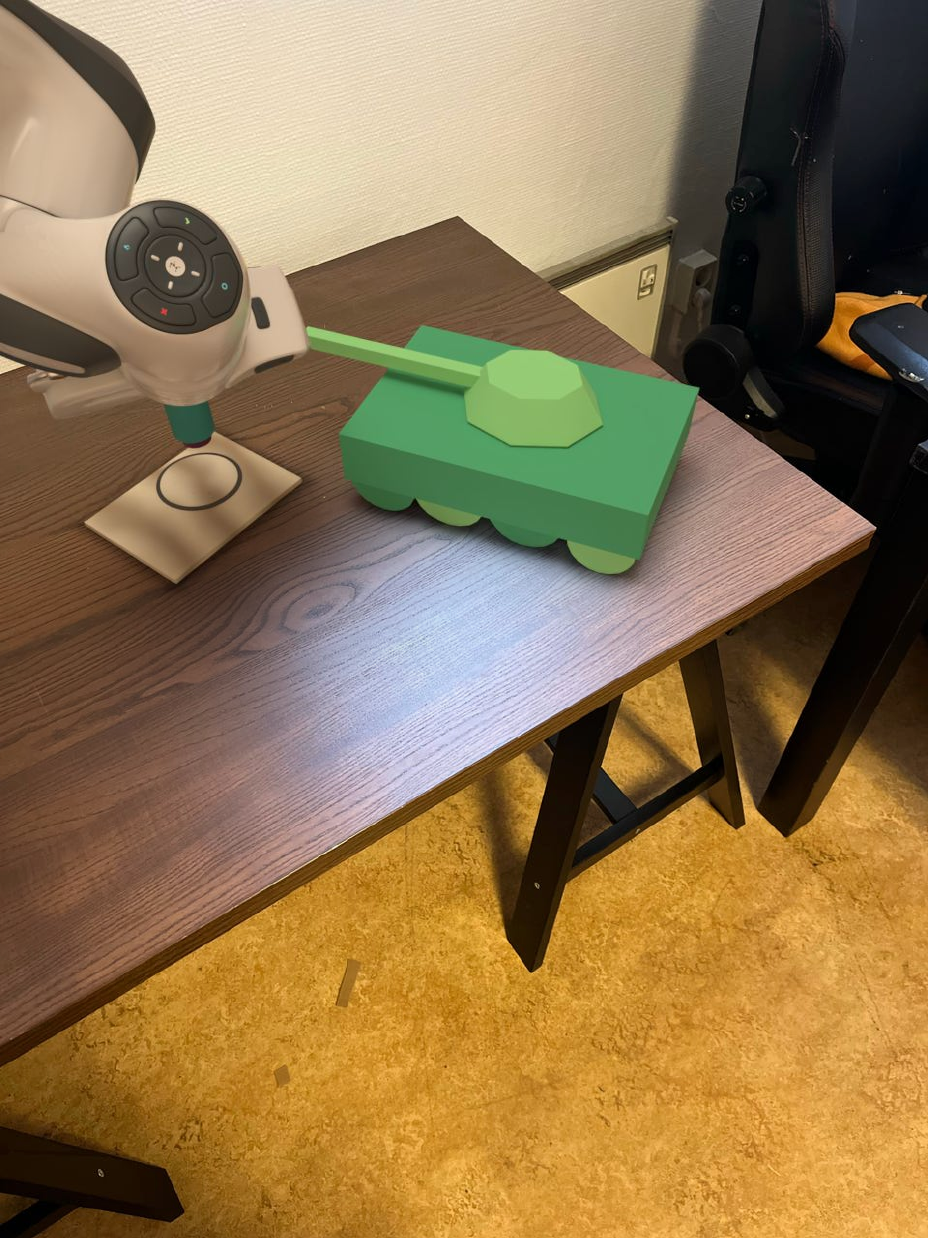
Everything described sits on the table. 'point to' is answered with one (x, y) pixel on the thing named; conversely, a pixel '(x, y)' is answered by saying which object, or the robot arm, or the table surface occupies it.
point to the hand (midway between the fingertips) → (178, 378)
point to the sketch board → (193, 506)
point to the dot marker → (191, 424)
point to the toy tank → (515, 441)
